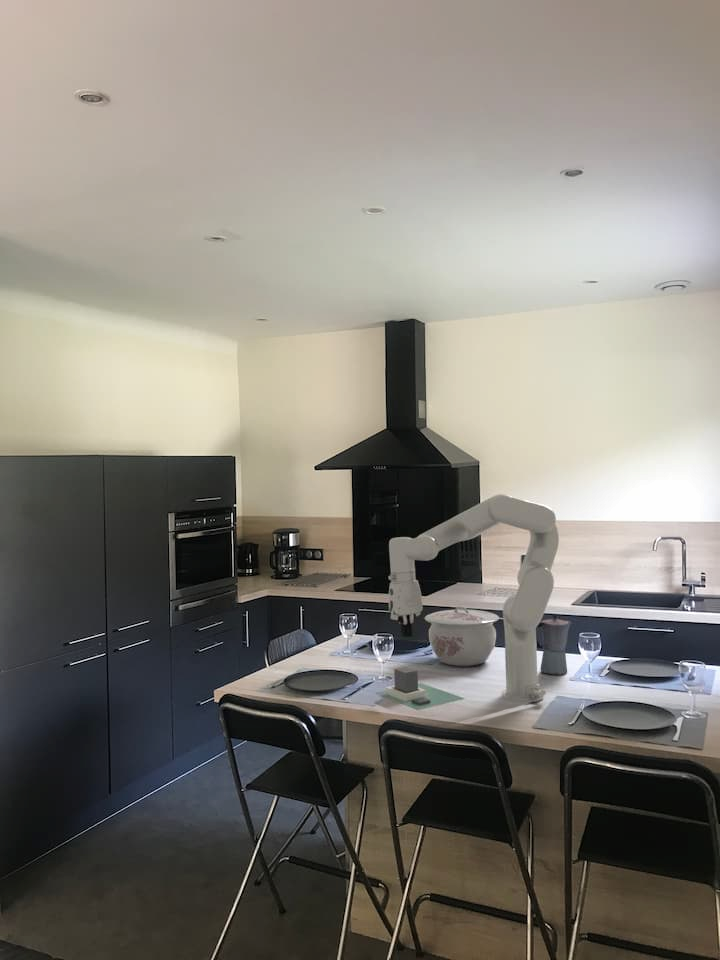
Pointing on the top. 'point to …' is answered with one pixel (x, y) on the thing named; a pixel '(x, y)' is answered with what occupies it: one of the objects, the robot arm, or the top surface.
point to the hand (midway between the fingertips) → (407, 636)
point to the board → (420, 696)
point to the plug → (406, 679)
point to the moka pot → (554, 645)
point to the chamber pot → (462, 636)
